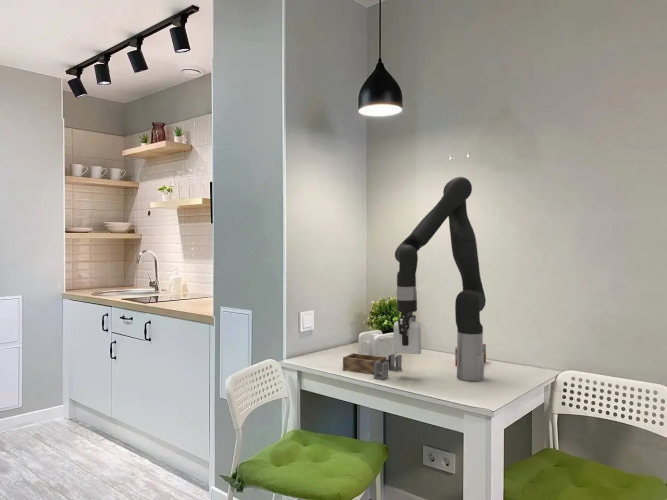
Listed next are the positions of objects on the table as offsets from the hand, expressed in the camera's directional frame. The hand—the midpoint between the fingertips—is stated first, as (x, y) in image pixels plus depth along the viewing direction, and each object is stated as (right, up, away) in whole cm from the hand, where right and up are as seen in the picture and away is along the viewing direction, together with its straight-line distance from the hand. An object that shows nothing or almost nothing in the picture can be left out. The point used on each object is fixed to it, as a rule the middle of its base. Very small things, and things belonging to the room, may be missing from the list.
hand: (407, 344), depth 198 cm
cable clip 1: (-10, -13, 0) cm, 16 cm away
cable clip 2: (-3, -12, +13) cm, 18 cm away
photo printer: (0, -4, 0) cm, 4 cm away
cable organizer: (-8, -12, +31) cm, 35 cm away
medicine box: (+30, -13, +24) cm, 40 cm away
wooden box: (-15, -12, +12) cm, 23 cm away
